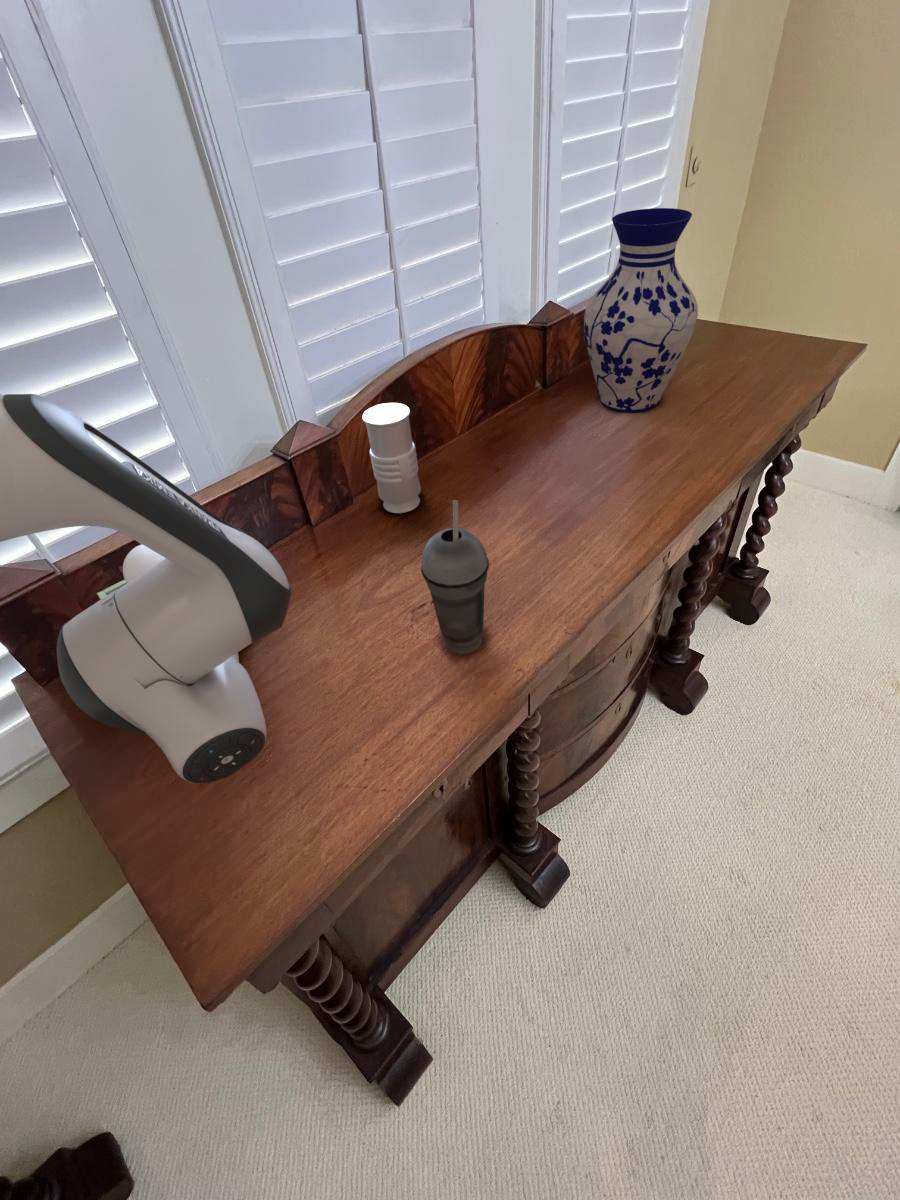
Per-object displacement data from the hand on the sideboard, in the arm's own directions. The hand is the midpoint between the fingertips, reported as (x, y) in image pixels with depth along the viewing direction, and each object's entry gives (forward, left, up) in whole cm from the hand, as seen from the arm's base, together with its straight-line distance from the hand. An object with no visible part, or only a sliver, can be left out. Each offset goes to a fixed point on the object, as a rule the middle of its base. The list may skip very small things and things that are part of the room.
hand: (159, 578), depth 69 cm
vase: (+88, -5, -9) cm, 89 cm away
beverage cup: (+23, -27, -9) cm, 37 cm away
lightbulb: (0, -1, -6) cm, 6 cm away
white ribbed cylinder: (+37, +2, -9) cm, 38 cm away
